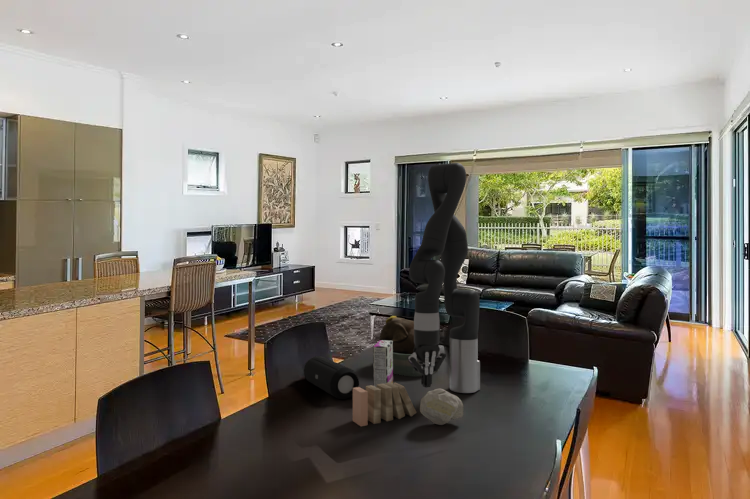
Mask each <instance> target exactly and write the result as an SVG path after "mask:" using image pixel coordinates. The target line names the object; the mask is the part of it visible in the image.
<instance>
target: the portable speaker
mask: <svg viewBox="0 0 750 499" xmlns="http://www.w3.org/2000/svg"><path fill="white" fill-rule="evenodd" d="M303 375H304V378H305V380H306V381H308V382H309V383H310V384H312V385H314V386H316V387H317V388H319V389H320V390H322V391H324V392H325V393H327V394H329V395H331V396H333V397H334V398H336V399H338V400H345V399H350V398H353V388H356V387H360V380H359V377H358V375H357V373H356V372H355V371H354V370H353V369H352V368H349V367H347V366H345V365H342V364H341V363H338V362H335V361H333V360H332V359H329V358H326V357H324V356H321V355H315V356H312V357H311V358H309V359H307V361H306V362H305V364H304V365H303Z"/></svg>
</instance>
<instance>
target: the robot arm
mask: <svg viewBox="0 0 750 499" xmlns="http://www.w3.org/2000/svg"><path fill="white" fill-rule="evenodd" d="M427 182H428V187H429V188H428V189H429V194H430V199H431V201H432V207H433V211H434V213H433V214H432V215H431V216H430V218H429V219H428V220H427V223H426V225H425V227H424V231H423V234H422V240H421V244H420V246H419V248H418V249H417V251H416V253H415V254H414V256H413V258H412V259H411V263H410V264H409V268H408V275H409V278H410V281H412V282H414V283H416V284H425V285H426V284H427V288H426V289H425V290H423V291H418V292H417V293H416V294H415V296H414V317H413V321H414V344H415V347H414V350H413V352H414V353H413V354H412V355H411V356H407V360H408V361H409V363H410V364H411V365H412V367H413V368H414V370H415V371H416V372H419V373H421V376H420V377H421V379H420V382H421V385H422V387H424V388H431V386H432V384H433V375H434V374H433V372H435V371H438V372H439V370H440V369H439V367H440V368H441V366H442V364H443V362H444V360H446V357H447V354H446V353H443V352H442V351H441V349H440V346H439V345H440V341H441V340H440V339H441V337H440V335H441V334H440V333H441V332H440V329H441V328H440V324H441V323H440V322H441V321H440V320H441V319H440V312H439V309H440V305H439V304H440V301H439V300H440V295H441V292H442V287H443V300H444V307H445V308H444V309H445V312H446V314H447V315H448V316H449V317H452V318H455V317H456V318H464V322H463V324H461V325H459V326H456V327H451V329H450V330H449V390H450V391H452V392H455V393H460V394H472V393H476V392H478V391H479V390H481V361H480V360H478V358H479V357H478V356H479V353H478V348H479V345H478V344H479V343H478V342H479V340H478V338H479V337H478V336H479V334H478V333H479V328H480V327H479V326H480V325H479V324H480V310H481V309H480V306H481V304H480V303H481V302H480V296H479V293H478V292H477V291H476V290H474V289H459V288H458V284H457V283H458V282H457V281H458V275H459V273H460V270H461V268H462V266H463V264H464V263H465V260H466V258H467V257H468V253H469V246H468V237H467V231H466V229H465V227H464V225H463V224H462V223H461V221H460V220H459V219H458V217H457V216H456V214H455V213H456V211H457V207H458V205H459V203H460V199H461V197H462V195H463V192H464V189H465V187H466V184H467V183H466V182H467V171H466V169H465V166H464V165H463V164H462V163H459V162H451V163H450V162H449V163H442V164H441V163H440V164H434V165H432V166H431V167H430V168H429V170H428V173H427ZM437 256H440V260H439V259H433V258H434V257H437ZM416 357H417V358H416ZM417 359H418V360H419V364H418V362H417ZM438 369H439V370H438Z"/></svg>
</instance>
